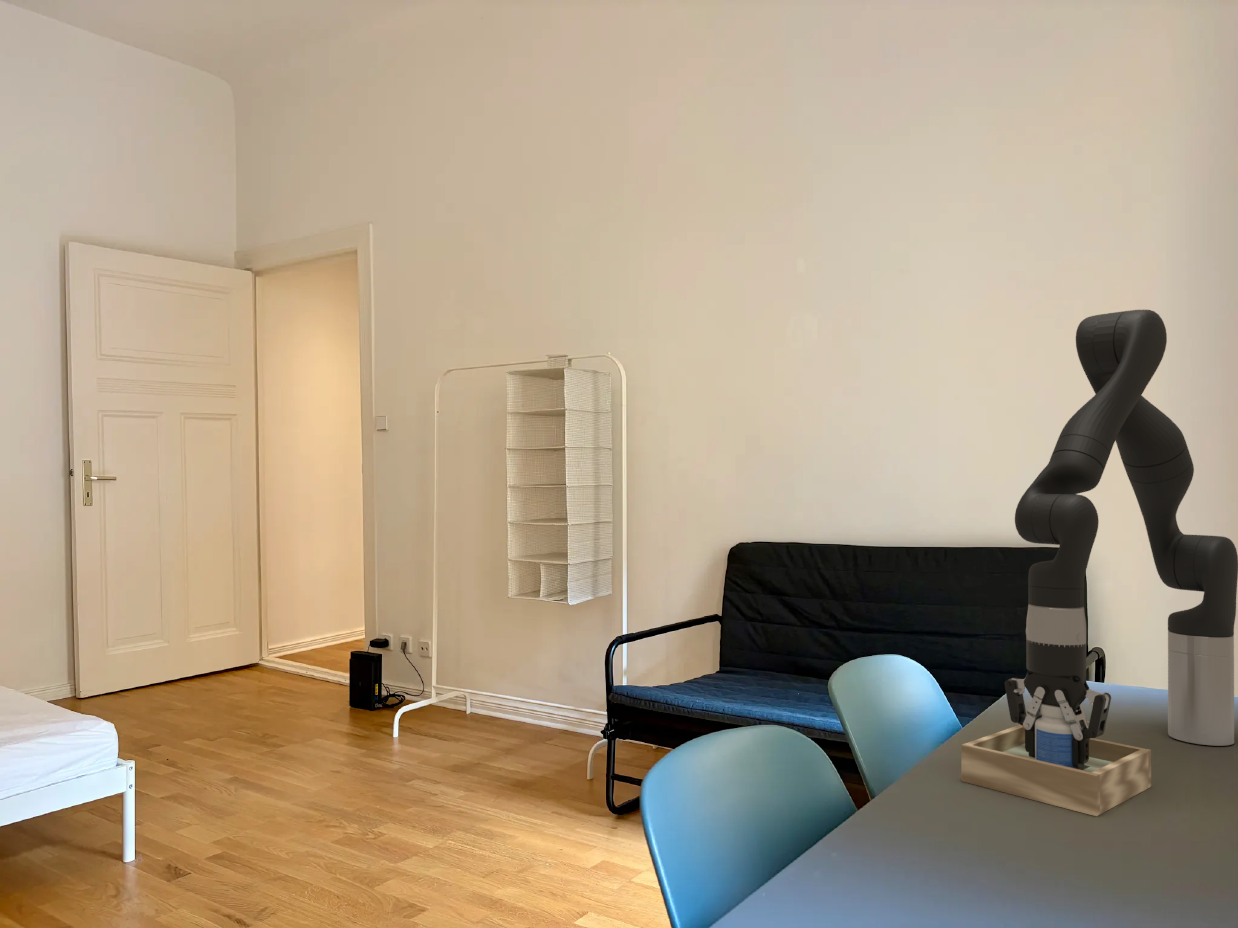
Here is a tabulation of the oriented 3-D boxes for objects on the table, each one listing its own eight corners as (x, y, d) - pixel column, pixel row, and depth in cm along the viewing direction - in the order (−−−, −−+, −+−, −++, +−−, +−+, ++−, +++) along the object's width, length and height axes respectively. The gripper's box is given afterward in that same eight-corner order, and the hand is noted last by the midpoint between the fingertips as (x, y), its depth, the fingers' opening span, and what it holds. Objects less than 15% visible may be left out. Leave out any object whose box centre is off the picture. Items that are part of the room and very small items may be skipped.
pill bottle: (1083, 783, 126) (1082, 710, 127) (1040, 780, 127) (1040, 707, 128) (1072, 770, 132) (1071, 700, 132) (1030, 768, 133) (1030, 698, 133)
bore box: (1022, 756, 142) (1022, 723, 142) (1151, 786, 129) (1151, 749, 129) (961, 780, 130) (961, 744, 130) (1096, 816, 117) (1096, 775, 117)
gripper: (1121, 642, 127) (1122, 767, 127) (1017, 629, 138) (1017, 745, 138) (1098, 648, 122) (1099, 779, 122) (992, 634, 133) (992, 754, 133)
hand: (1056, 760), depth 130 cm, fingers closed on pill bottle, 5 cm apart
